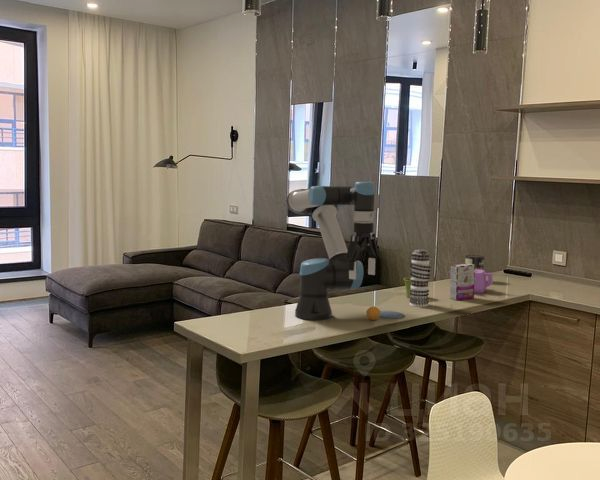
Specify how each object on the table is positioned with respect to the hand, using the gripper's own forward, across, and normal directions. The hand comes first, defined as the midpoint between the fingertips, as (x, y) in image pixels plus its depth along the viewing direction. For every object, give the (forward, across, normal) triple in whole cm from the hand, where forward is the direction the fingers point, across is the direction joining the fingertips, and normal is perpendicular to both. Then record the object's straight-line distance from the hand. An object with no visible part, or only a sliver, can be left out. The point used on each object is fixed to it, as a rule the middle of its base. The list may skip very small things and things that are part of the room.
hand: (362, 276), depth 237 cm
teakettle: (+19, +97, -4) cm, 99 cm away
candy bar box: (+19, +75, -9) cm, 78 cm away
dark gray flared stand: (+19, +126, +7) cm, 128 cm away
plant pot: (+19, +62, +10) cm, 66 cm away
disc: (+19, +21, 0) cm, 28 cm away
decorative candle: (+19, +48, 0) cm, 52 cm away
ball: (+16, +9, 0) cm, 18 cm away
